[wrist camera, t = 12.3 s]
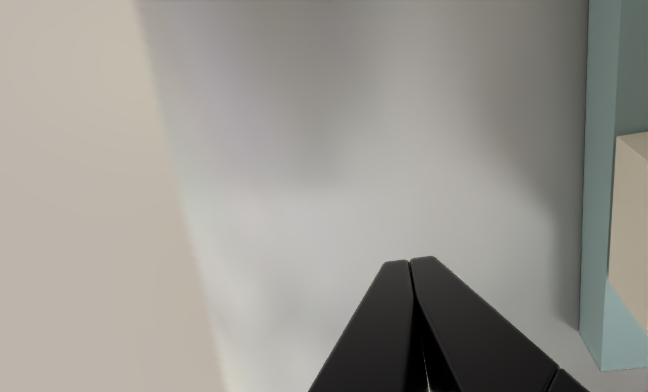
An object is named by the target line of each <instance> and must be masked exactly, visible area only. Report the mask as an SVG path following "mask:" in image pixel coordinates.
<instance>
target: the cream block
mask: <svg viewBox="0 0 648 392" xmlns="http://www.w3.org/2000/svg"><path fill="white" fill-rule="evenodd" d="M608 282H609V283H610V284H611V286H612V287H613V288H614V290H615V291H616V293H617V294H618V295H619V297H620V298H621V300H622V301H623V302H624V304H625V305H626V306H627V308H628V309H629V311H630V312H631V313H632V315H633V316H634V318H635V319H636V320H637V322H638V323H639V324H640V326H641V327H642V329H643V330H644V331H645V333H646V334H647V336H648V132H642V133H635V134H629V135H623V136H617V137H616V154H615V171H614V188H613V206H612V223H611V240H610V257H609V274H608Z"/></svg>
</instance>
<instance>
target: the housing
mask: <svg viewBox="0 0 648 392" xmlns="http://www.w3.org/2000/svg"><path fill="white" fill-rule="evenodd" d="M642 132H648V0H589V22H588V55H587V89H586V123H585V156H584V190H583V223H582V257H581V291H580V324H579V334H580V336H581V337H582V339H583V341H584V343H585V345H586V346H587V348H588V350H589V352H590V354H591V355H592V357H593V359H594V361H595V363H596V364H597V366H598V368H599V370H600V372H604V371H614V370H624V369H634V368H644V367H648V336H647V334H646V333H645V331H644V330H643V329H642V327H641V326H640V324H639V323H638V322H637V320H636V319H635V318H634V316H633V315H632V313H631V312H630V311H629V309H628V308H627V306H626V305H625V304H624V302H623V301H622V300H621V298H620V297H619V295H618V294H617V293H616V291H615V290H614V288H613V287H612V286H611V284H610V283H609V282H608V274H609V257H610V240H611V223H612V206H613V188H614V171H615V154H616V137H617V136H623V135H629V134H635V133H642Z"/></svg>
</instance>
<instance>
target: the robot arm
mask: <svg viewBox="0 0 648 392" xmlns="http://www.w3.org/2000/svg"><path fill="white" fill-rule="evenodd" d="M409 264H410V265H409ZM410 270H411V271H410ZM423 353H424V354H423ZM424 359H425V360H424ZM425 366H426V367H425ZM426 372H427V374H426ZM427 378H428V381H427ZM428 383H429V388H430V392H590V391H588V390H587V389H586V388H585V387H583V386H582V385H581V384H580V383H579V382H578V381H576V380H575V379H574V378H573V377H572V376H571V375H570V374H569V373H567V372H566V371H565V370H564V369H562V368H561V369H560V367H559V365H558V364H557V363H556V362H555V361H553V360H552V359H551V358H550V357H549V356H548V355H547V354H545V353H544V352H543V351H542V350H541V349H540V348H539V347H537V346H536V345H535V344H534V343H533V342H532V341H530V340H529V339H528V338H527V337H526V336H525V335H524V334H522V333H521V332H520V331H519V330H518V329H517V328H516V327H514V326H513V325H512V324H511V323H510V322H509V321H508V320H506V319H505V318H504V317H503V316H502V315H501V314H500V313H498V312H497V311H496V310H495V309H494V308H493V307H492V306H490V305H489V304H488V303H487V302H486V301H485V300H484V299H482V298H481V297H480V296H479V295H478V294H477V293H476V292H474V291H473V290H472V289H471V288H470V287H469V286H468V285H466V284H465V283H464V282H463V281H462V280H461V279H460V278H458V277H457V276H456V275H455V274H454V273H453V272H452V271H450V270H449V269H448V268H447V267H446V266H445V265H444V264H442V263H441V262H440V261H439V260H438V259H437V258H436V257H434V256H426V257H419V258H413V259H411V260H410V262H408V261H407V260H397V261H389V262H385V263H384V264H383V265H382V267H381V269H380V270H379V272H378V274H377V275H376V277H375V279H374V280H373V282H372V284H371V286H370V287H369V289H368V291H367V292H366V294H365V296H364V297H363V299H362V301H361V302H360V304H359V306H358V308H357V309H356V311H355V313H354V314H353V316H352V318H351V319H350V321H349V323H348V324H347V326H346V328H345V330H344V331H343V333H342V335H341V336H340V338H339V340H338V341H337V343H336V345H335V347H334V348H333V350H332V352H331V353H330V355H329V357H328V358H327V360H326V362H325V363H324V365H323V367H322V369H321V370H320V372H319V374H318V375H317V377H316V379H315V380H314V382H313V384H312V385H311V387H310V389H309V391H308V392H429V389H428Z"/></svg>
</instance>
